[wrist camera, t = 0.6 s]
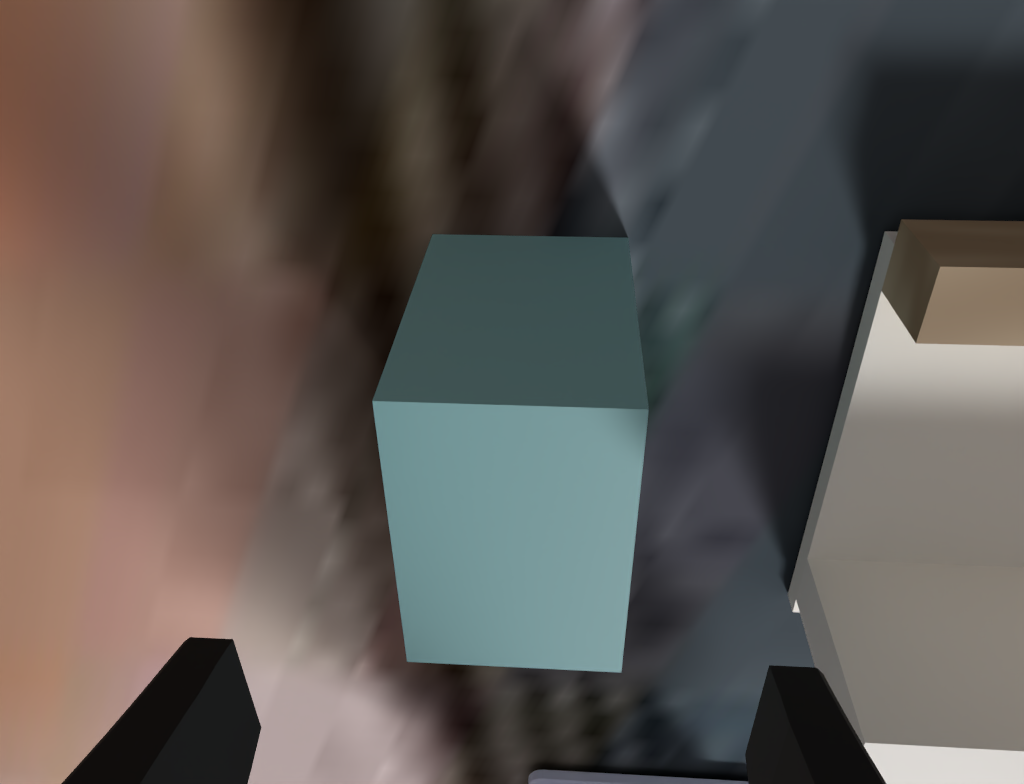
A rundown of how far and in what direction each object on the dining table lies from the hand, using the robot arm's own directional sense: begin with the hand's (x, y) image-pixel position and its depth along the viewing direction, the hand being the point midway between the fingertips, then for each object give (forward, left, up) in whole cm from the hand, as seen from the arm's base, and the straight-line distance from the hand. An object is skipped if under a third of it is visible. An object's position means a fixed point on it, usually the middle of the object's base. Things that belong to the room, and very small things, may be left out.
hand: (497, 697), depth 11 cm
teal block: (0, 0, -9) cm, 9 cm away
